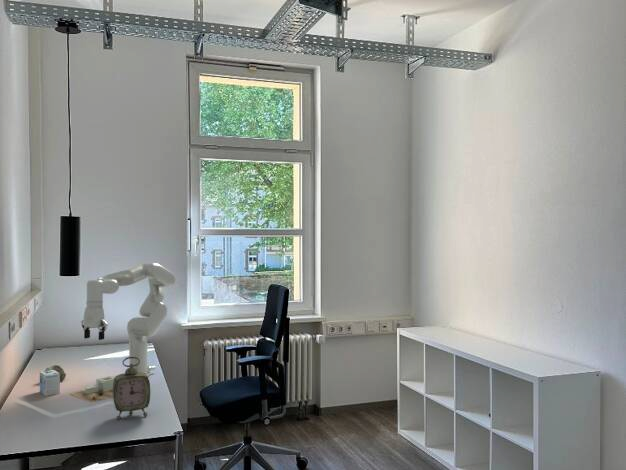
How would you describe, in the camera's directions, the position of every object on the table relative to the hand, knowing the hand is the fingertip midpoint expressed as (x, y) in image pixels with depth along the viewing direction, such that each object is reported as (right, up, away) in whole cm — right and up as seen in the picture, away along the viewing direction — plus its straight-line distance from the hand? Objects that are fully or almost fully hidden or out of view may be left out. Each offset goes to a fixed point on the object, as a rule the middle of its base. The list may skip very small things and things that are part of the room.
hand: (94, 338), depth 283 cm
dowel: (+9, -23, -24) cm, 35 cm away
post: (+10, -23, -18) cm, 31 cm away
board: (+9, -24, -14) cm, 30 cm away
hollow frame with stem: (+7, -23, -10) cm, 26 cm away
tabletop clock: (+34, -24, -46) cm, 62 cm away
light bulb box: (-17, -25, -12) cm, 32 cm away
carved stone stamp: (-26, -25, +13) cm, 39 cm away
